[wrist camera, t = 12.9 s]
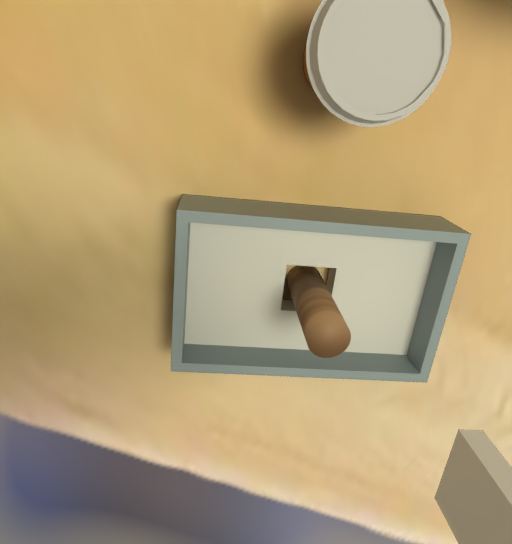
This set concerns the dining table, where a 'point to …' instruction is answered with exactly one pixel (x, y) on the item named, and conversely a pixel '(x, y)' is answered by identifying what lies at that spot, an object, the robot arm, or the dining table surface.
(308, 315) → the dowel
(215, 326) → the tray
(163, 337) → the dining table surface
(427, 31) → the disposable coffee cup
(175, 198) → the dining table surface
